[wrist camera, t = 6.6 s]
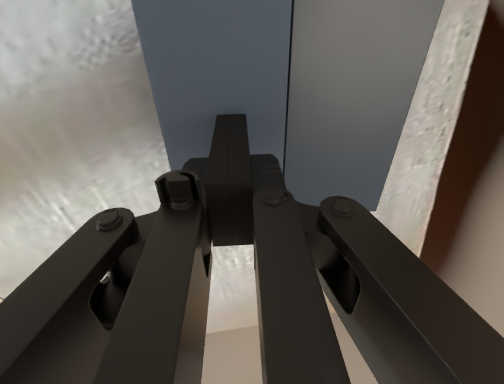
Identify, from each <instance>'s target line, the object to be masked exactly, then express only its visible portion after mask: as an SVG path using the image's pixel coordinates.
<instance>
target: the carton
mask: <svg viewBox="0 0 504 384" xmlns="http://www.w3.org/2000/svg"><path fill="white" fill-rule="evenodd" d="M444 1H445V0H292V8H291V27H290V46H289V65H288V84H287V103H286V121H285V140H284V159H283V178H284V181H285V185H286V188H287V190H288V191H289V192H291V194H292V195H293V197H294V199H295V200H296V201H298V202H300V203H303V204H308V205H313V206H319V207H320V203H321V202H322V201H323V200H324V199H325V198H328V197H330V196H344V197H348V198H351V199H354V200H356V201H357V202H359V203H360V204H362V205H363V206H364V207H365V208H366V209H367V210H368V211H376V209H377V206H378V203H379V200H380V197H381V194H382V191H383V188H384V184H385V181H386V178H387V175H388V172H389V169H390V166H391V163H392V160H393V157H394V154H395V151H396V148H397V145H398V142H399V139H400V135H401V132H402V129H403V126H404V123H405V120H406V117H407V114H408V111H409V108H410V105H411V102H412V99H413V96H414V93H415V89H416V86H417V83H418V80H419V77H420V74H421V71H422V68H423V65H424V62H425V59H426V56H427V53H428V50H429V47H430V43H431V40H432V37H433V34H434V31H435V28H436V25H437V22H438V19H439V16H440V13H441V10H442V7H443V4H444Z"/></svg>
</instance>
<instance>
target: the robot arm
mask: <svg viewBox="0 0 504 384" xmlns="http://www.w3.org/2000/svg"><path fill="white" fill-rule="evenodd" d="M155 185H156V188H157V192H158V195H159V199H160V202H161V205H160V208H159V210H158V211H156V212H153V213H150V214H146V215H142V216H138V217H134V214H133V212H132V211H130V210H129V209H126V208H112V209H107V210H104V211H102V212H100V213H98V214H96V215H95V216H93V217H92V218H91V219H89V220H88V221H87V222H86V223H85V224H84V225H83V226H82V227H81V228H80V229H79V230H78V231H77V232H75V233H74V234H73V235H72V236H71V237H70V238H69V239H68V240H67V241H66V242H65V243H64V244H63V245H62V246H61V247H60V248H58V249H57V250H56V251H55V252H54V253H53V254H52V255H51V256H50V257H49V258H48V259H47V260H46V261H45V262H44V263H42V264H41V265H40V266H39V267H38V268H37V269H36V270H35V271H34V272H33V273H32V274H31V275H30V276H29V277H28V278H27V279H25V280H24V281H23V282H22V283H21V284H20V285H19V286H18V287H17V288H16V289H15V290H14V291H13V292H12V293H11V294H10V295H8V296H7V297H6V298H5V299H4V300H3V301H2V302H1V303H0V384H201V378H202V367H203V356H204V345H205V334H206V323H207V313H208V302H209V291H210V280H211V269H212V259H213V258H212V252H211V243H212V242H213V247H214V246H233V245H251V244H254V270H255V278H256V293H257V308H258V322H259V337H260V350H261V351H260V352H261V365H262V380H263V384H351V382H350V379H349V376H348V372H347V369H346V366H345V363H344V359H343V356H342V353H341V350H340V346H339V343H338V340H337V336H336V333H335V330H334V327H333V324H332V320H331V317H330V314H329V310H328V307H327V304H326V301H325V297H324V294H323V291H324V292H325V294H326V296H327V297H328V299H329V301H330V302H331V304H332V306H333V308H334V309H335V311H336V313H337V314H338V316H339V318H340V319H341V321H342V323H343V324H344V326H345V328H346V329H347V331H348V333H349V335H350V336H351V338H352V339H353V341H354V343H355V344H356V346H357V348H358V350H359V351H360V353H361V354H362V356H363V358H364V360H365V361H366V363H367V365H368V366H369V368H370V370H371V372H372V373H373V375H374V377H375V378H376V380H377V382H378V383H379V384H504V338H503V337H502V336H501V335H500V334H499V333H498V332H497V331H495V329H493V328H492V327H491V326H490V325H489V324H488V323H487V322H486V321H485V320H484V319H483V318H482V317H481V316H479V314H478V313H476V312H475V311H474V310H473V309H472V308H471V307H470V306H469V305H468V304H467V303H466V302H465V301H464V300H463V299H462V298H460V297H459V296H458V295H457V294H456V293H455V292H454V291H453V290H452V289H451V288H450V287H449V286H448V285H447V284H445V283H444V282H443V281H442V280H441V279H440V278H439V277H438V276H437V275H436V274H435V273H434V272H433V271H432V270H431V269H430V268H429V267H428V266H426V265H425V264H424V263H423V262H422V261H421V260H420V259H419V258H418V257H417V256H416V255H415V254H414V253H413V252H412V251H411V250H409V249H408V248H407V247H406V246H405V245H404V244H403V243H402V242H401V241H400V240H399V239H398V238H397V237H396V236H395V235H394V234H392V233H391V232H390V231H389V230H388V229H387V228H386V227H385V226H384V225H383V224H382V223H381V222H380V221H379V220H378V219H376V218H375V217H374V216H373V215H372V214H371V213H370V212H369V211H368V210H367V209H366V208H365V207H364V206H363V205H362V204H360V203H359V202H357V201H356V200H354V199H351V198H348V197H344V196H330V197H328V198H325V199H324V200H323V201H322V202H321V203H320V207H319V206H313V205H308V204H303V203H300V202H298V201H296V200H295V199H294V197H293V195H292V194H291V192H289V191H288V190H287V188H286V185H285V181H284V178H283V174H282V172H281V167H280V164H279V160H278V158H276V157H275V156H274V155H273V154H253V155H250V150H249V140H248V129H247V119H246V114H229V115H217V116H216V122H215V127H214V132H213V137H212V142H211V148H210V153H209V157H204V158H190V159H189V160H188V161H187V162H185V163H184V164H183V167H182V170H174V171H170V172H167V173H165V174H163V175H161V176H160V177H158V178H157V180H156V181H155ZM106 273H107V276H106V278H105V279H104V280H103V281H101V280H102V278H103V277H104V276H105V274H106ZM100 281H101V282H100ZM322 289H323V291H322Z"/></svg>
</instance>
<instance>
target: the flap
mask: <svg viewBox="0 0 504 384" xmlns="http://www.w3.org/2000/svg"><path fill="white" fill-rule="evenodd" d="M131 3H132V8H133V12H134V16H135V20H136V25H137V29H138V33H139V37H140V42H141V46H142V50H143V54H144V59H145V63H146V67H147V71H148V76H149V80H150V84H151V88H152V93H153V97H154V101H155V105H156V110H157V114H158V118H159V122H160V126H161V131H162V135H163V139H164V143H165V148H166V152H167V156H168V160H169V165H170V169H171V171H174V170H182V167H183V164H184V163H185V162H187V161H188V160H189V159H190V158H204V157H209V153H210V148H211V142H212V137H213V132H214V127H215V122H216V116H217V115H229V114H246V119H247V129H248V140H249V150H250V155H253V154H273V155H274V156H275V157H276V158H278V160H279V164H280V167H281V172H282V174H283V159H284V140H285V121H286V103H287V84H288V65H289V46H290V27H291V8H292V0H131Z"/></svg>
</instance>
